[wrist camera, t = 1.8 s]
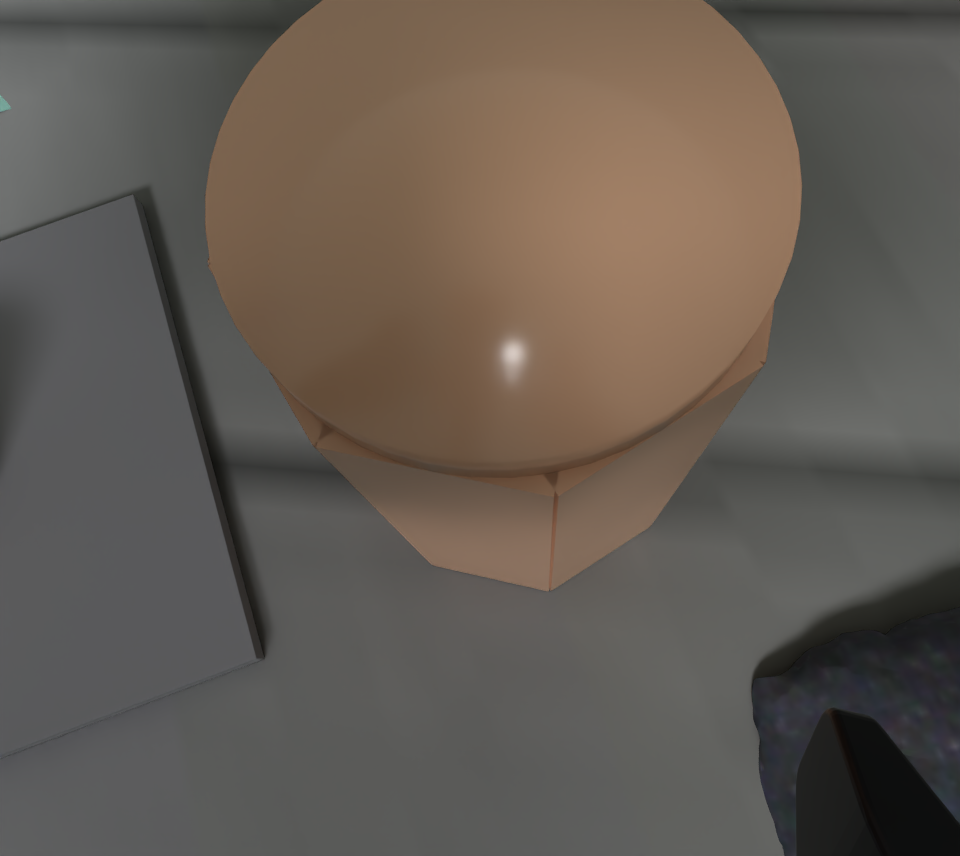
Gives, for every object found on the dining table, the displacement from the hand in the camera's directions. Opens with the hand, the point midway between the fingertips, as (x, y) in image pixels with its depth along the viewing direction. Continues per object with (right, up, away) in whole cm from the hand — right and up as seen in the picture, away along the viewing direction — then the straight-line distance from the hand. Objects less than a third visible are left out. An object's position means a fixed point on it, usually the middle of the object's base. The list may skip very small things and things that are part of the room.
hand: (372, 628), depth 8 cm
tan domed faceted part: (+2, +2, +13) cm, 13 cm away
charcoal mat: (-13, 0, +14) cm, 19 cm away
